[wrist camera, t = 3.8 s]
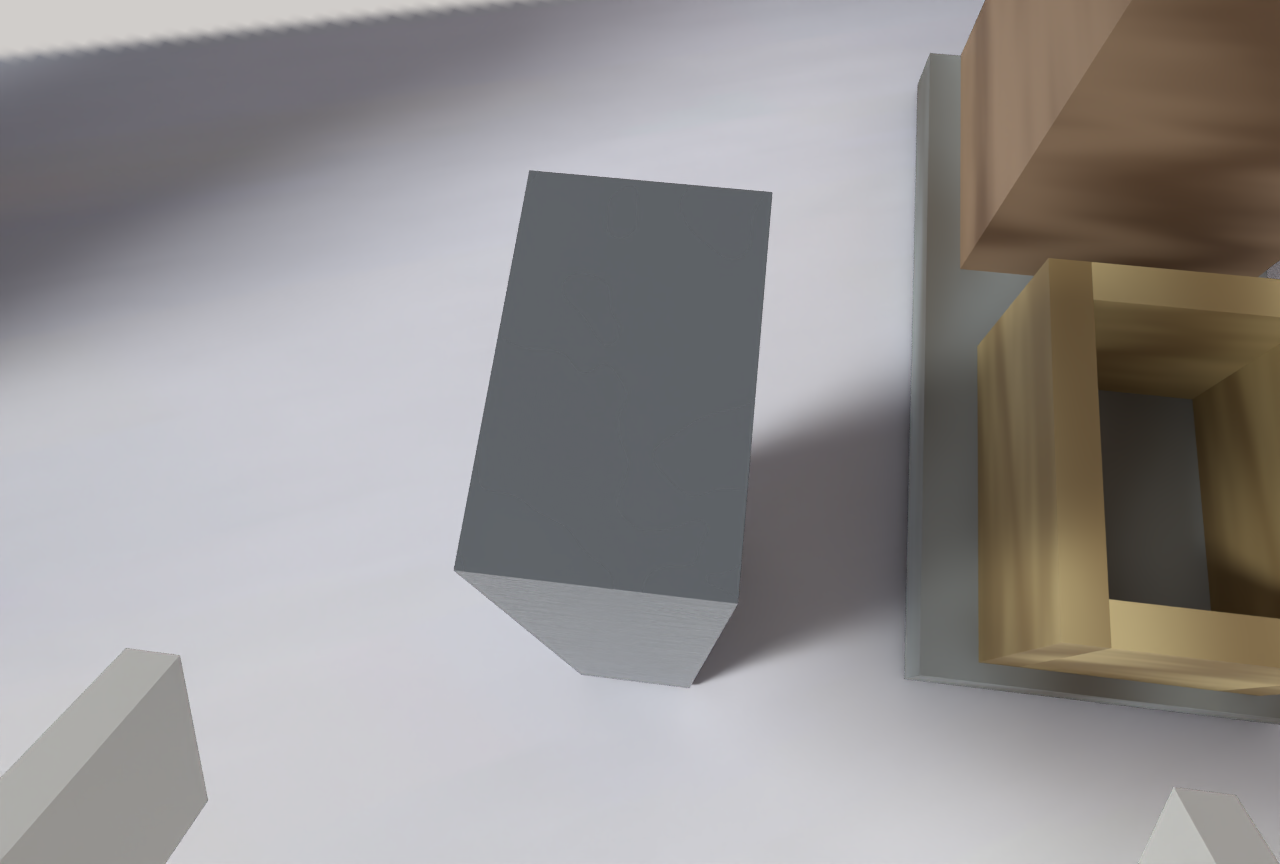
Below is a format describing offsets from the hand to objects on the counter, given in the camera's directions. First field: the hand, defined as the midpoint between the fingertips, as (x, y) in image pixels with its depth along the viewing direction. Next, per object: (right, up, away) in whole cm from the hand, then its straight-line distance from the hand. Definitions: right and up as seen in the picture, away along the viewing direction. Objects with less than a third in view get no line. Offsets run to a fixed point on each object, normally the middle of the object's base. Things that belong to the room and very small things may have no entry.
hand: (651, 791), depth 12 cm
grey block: (0, 0, +13) cm, 13 cm away
